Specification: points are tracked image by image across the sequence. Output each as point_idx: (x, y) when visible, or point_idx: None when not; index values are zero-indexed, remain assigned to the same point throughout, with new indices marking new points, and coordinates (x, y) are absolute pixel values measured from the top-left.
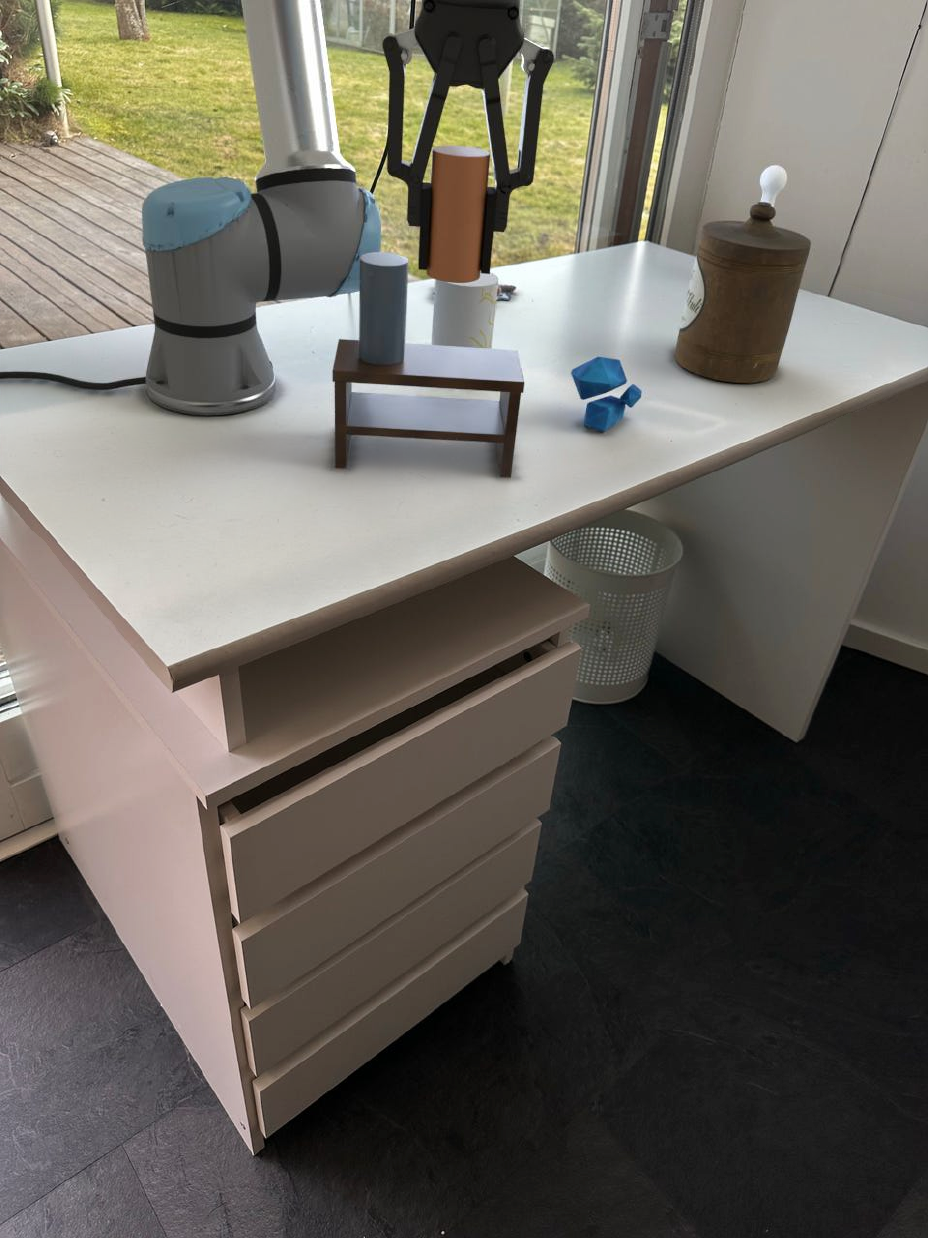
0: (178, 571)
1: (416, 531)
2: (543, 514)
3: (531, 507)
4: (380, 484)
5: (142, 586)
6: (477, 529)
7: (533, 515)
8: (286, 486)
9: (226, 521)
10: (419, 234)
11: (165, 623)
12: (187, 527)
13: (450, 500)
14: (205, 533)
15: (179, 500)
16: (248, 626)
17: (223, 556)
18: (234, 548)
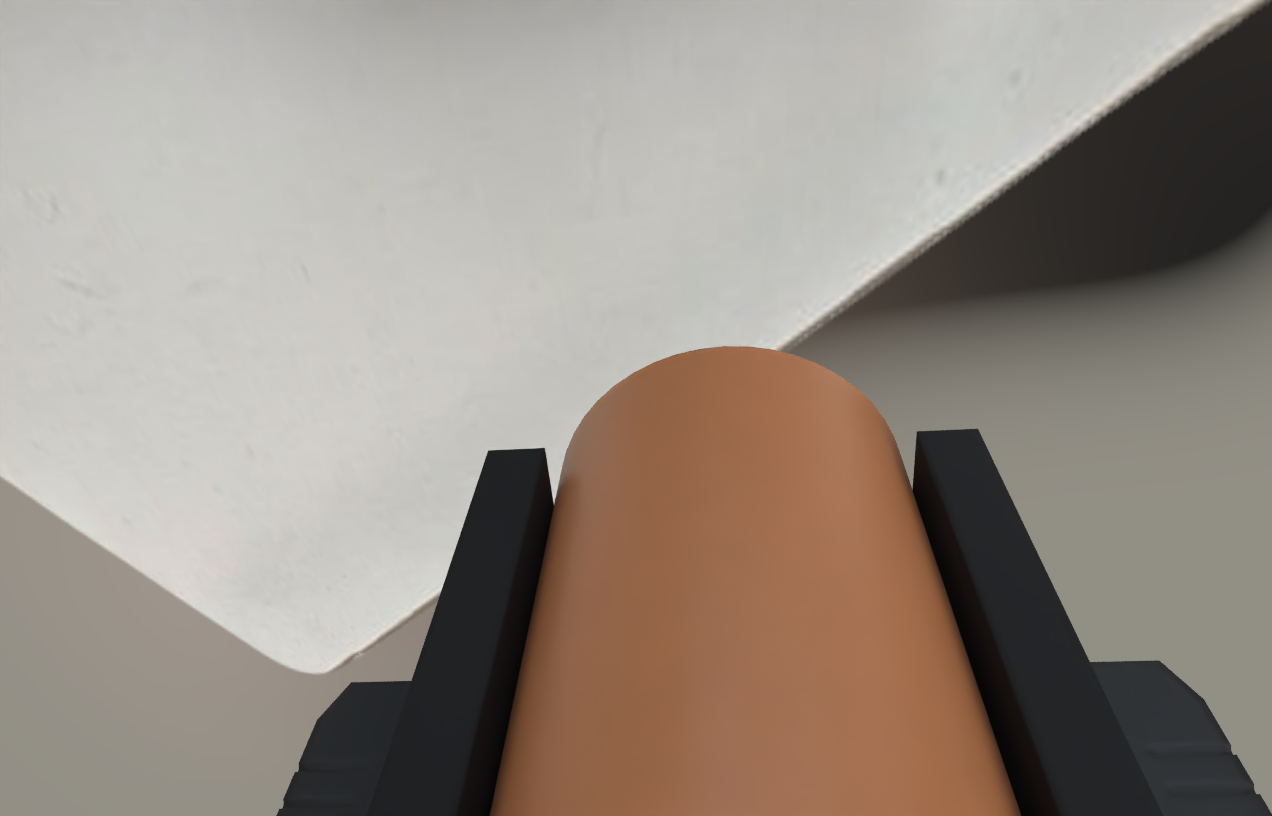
0: (192, 480)
1: (655, 273)
2: (1025, 131)
3: (996, 94)
4: (522, 25)
5: (156, 527)
6: (817, 241)
7: (992, 142)
8: (255, 89)
9: (189, 293)
10: (452, 564)
11: (252, 608)
12: (119, 330)
13: (745, 92)
14: (170, 348)
15: (28, 213)
16: (387, 605)
17: (251, 424)
18: (259, 395)
